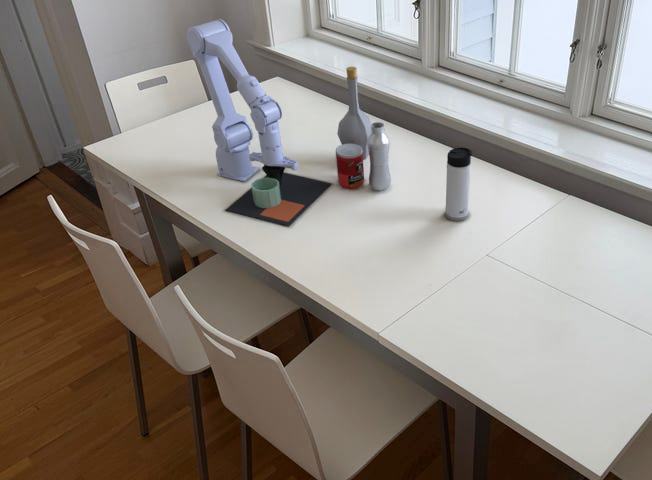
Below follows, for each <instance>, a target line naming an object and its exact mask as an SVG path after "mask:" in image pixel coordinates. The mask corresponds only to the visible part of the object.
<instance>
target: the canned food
mask: <svg viewBox="0 0 652 480" xmlns="http://www.w3.org/2000/svg"><path fill="white" fill-rule="evenodd" d="M335 161H336V172H337V173H336V174H337V182H338V184H339V186H340V187H341V188H343V189H345V190H346V189H347V190H356V189H358V188H359V189H360V188H361V187H362V186H363V185H364V183H365V167H364V160H363V151H362V148H361V147H360V146H359V145H356V144H343V145H342V144H340V145H338V146H336V148H335Z"/></svg>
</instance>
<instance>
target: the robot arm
mask: <svg viewBox="0 0 652 480" xmlns="http://www.w3.org/2000/svg"><path fill="white" fill-rule="evenodd" d="M185 38H186V41H187V43H188V46H189V48H190V49H189V50H190V51H191V53H192V57H193V58H194V59H196V60H197V62H198V66H199V67H200V70H201V73H202V76H203V79H204V82H205V84H206V88H207V90H208V93H209V95H210V99H211V101H212V104H213V106H214V109H215V112H216V115H217V117H216V119H215V121H214V122H213V124H212V126H211V128H212V131H213V140H214V143H215V145H216V146H217V147H216V149H215V160H216V163H217V168H218V173H217V176H219V177H223V178H227V179H231V180H236V181H240V182H246V181H247V180H248V179H250V178H251V177H252V176H253V175H254V174H256V173H257V172H258V171H259V170H260V168H259V167H256V166H253V164H252V162H259V163H261V164H262V165H263V166H262V167H261V170H262V172H264V173H265V176H266V175H267V176H268V178H274V179H276V180H277V181H279V185H280V186H281V182H282V176H283V173H285V171H286V169H290V170H291V171H294V172H295V171H296V170H297V169H299V163H298V161H297V160H293V159H291V158H290V157H287V156H285V155H284V151H283V144H282V139H281V138H282V137H281V130H280V122H279V121H280V120H281V119H282V117H283V111H282V108H281V105H280V104H279V103H278V101H277V100H275V99H274V98H272V96H270V95H267V93H266V91H265V90H264V88H263V87H262V85H261V83H260V82H259V80H258V79H257V77H255V76H254V75H250V73H249V72H248V70H247V69H246V67H245V65H244V64H243V61H242V60H241V58H240V56H239V54H238V52H237V51H236V49H235V47H234V45H233V40H234V39H233V33H232V32H231V29H230V27H229V25H228V24H227V23H226V21H225V20H223V19H221V18H217V19H215V20H212V21H209V22H205V23H202V24H199V25H194V26H190V27H189V28H188V29H187V32H186V35H185ZM219 60H220V61H221V62H222V64H223V65H224V66H225V67H226V69H227V70H228V72H230V74H231V75H232V76H233V78H234V79H235V80H236V82H237V83H236V89H237V91H238V92H239V94H240V96H241V97H242V99H243V100H244V101H245V103H246V105H247V106H248V108H249V109H250V113H249V115H250V118H251V121H252V122H253V124H254V128H255V131H256V132H257V133H258V134H257V135H258V140H259V147H260V151H261V152H254V151H252V152H250V147H249V146H250V145H251V141H252V140H253V138H254V131H253V128H252V127H251V124H249V122H248V120H247V117H246V115H244V114H241V113H238V112H237V111H236V107H235V105H234V102H233V99H232V96H231V93H230V91H229V87H228V84H227V82H226V78H225V76H224V73H223V70H222V66H221V64H220V62H219Z"/></svg>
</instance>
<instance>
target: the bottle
mask: <svg viewBox="0 0 652 480" xmlns="http://www.w3.org/2000/svg"><path fill="white" fill-rule="evenodd" d="M345 70H346V82H347V83H346V84H347V90H348V91H347V92H348V111H347V112H346V113H345V115H344V116H343V117H342V118H341V120H340V121H339V122H338V127H337V133H336V135H337V137H338V139H339V142H340V145H343V144H356V145H359V146H360V147H361V148H362V151H363V161H365V160H366V159H367V158H368V157H369V151H368V147H367V141H368V138H369V136H370V135H371V134H372V132H371V124H372V122H371V120H370V117H369V116H368V115H367V114H366V113H365V112H364V111H363V110H362V109H360V105H359V95H358V94H359V93H358V73H357V71H358V70H357V67H355V66H347V67H346V69H345Z"/></svg>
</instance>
